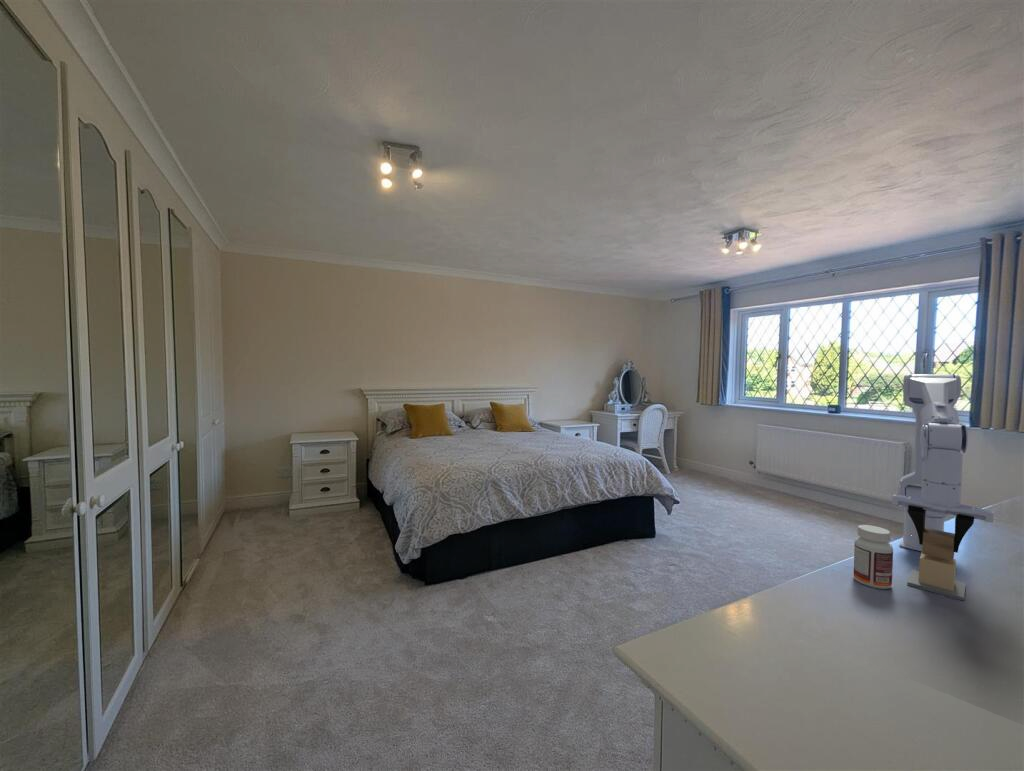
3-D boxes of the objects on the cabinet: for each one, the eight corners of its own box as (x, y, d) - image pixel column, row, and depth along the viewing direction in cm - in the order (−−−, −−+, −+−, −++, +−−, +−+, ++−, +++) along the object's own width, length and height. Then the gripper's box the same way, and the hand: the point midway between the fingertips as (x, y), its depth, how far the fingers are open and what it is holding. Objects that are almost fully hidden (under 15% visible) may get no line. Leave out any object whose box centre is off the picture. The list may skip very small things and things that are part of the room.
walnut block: (924, 548, 90) (925, 527, 90) (954, 554, 87) (955, 533, 87) (922, 553, 88) (923, 532, 87) (952, 560, 84) (953, 538, 84)
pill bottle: (893, 583, 88) (895, 529, 88) (890, 593, 84) (892, 537, 84) (855, 572, 93) (857, 521, 92) (850, 582, 88) (852, 528, 88)
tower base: (912, 571, 94) (913, 546, 93) (965, 585, 88) (966, 559, 87) (907, 584, 88) (908, 558, 87) (963, 600, 82) (965, 572, 81)
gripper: (891, 477, 90) (888, 541, 90) (994, 492, 79) (991, 564, 79) (896, 473, 94) (893, 533, 95) (994, 486, 84) (991, 554, 84)
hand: (938, 547), depth 87 cm, fingers closed on walnut block, 4 cm apart
